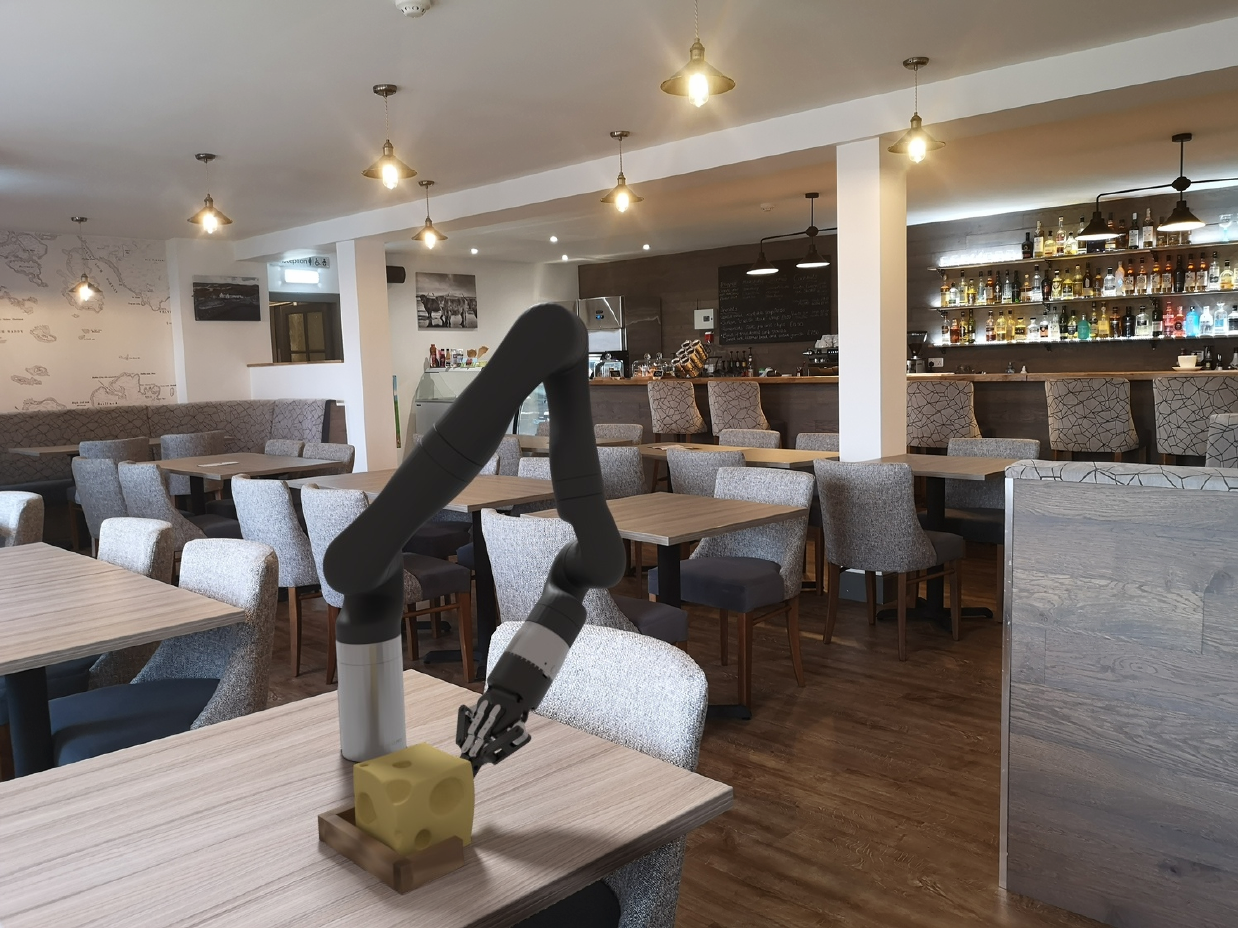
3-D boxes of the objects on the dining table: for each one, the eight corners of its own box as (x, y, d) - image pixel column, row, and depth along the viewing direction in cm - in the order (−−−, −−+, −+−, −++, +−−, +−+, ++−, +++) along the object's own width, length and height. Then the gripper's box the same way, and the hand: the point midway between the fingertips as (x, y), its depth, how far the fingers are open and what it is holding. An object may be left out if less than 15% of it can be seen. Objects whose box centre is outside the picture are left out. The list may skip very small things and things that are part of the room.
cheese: (398, 877, 101) (394, 789, 100) (352, 843, 109) (347, 761, 108) (478, 843, 108) (474, 761, 107) (429, 814, 116) (425, 736, 115)
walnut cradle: (319, 838, 110) (317, 814, 110) (378, 815, 116) (377, 792, 116) (401, 894, 98) (400, 867, 97) (464, 865, 103) (462, 839, 103)
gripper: (481, 640, 123) (405, 758, 116) (546, 659, 114) (468, 788, 106) (513, 670, 127) (443, 785, 120) (579, 690, 118) (507, 817, 111)
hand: (455, 786), depth 113 cm, fingers closed
